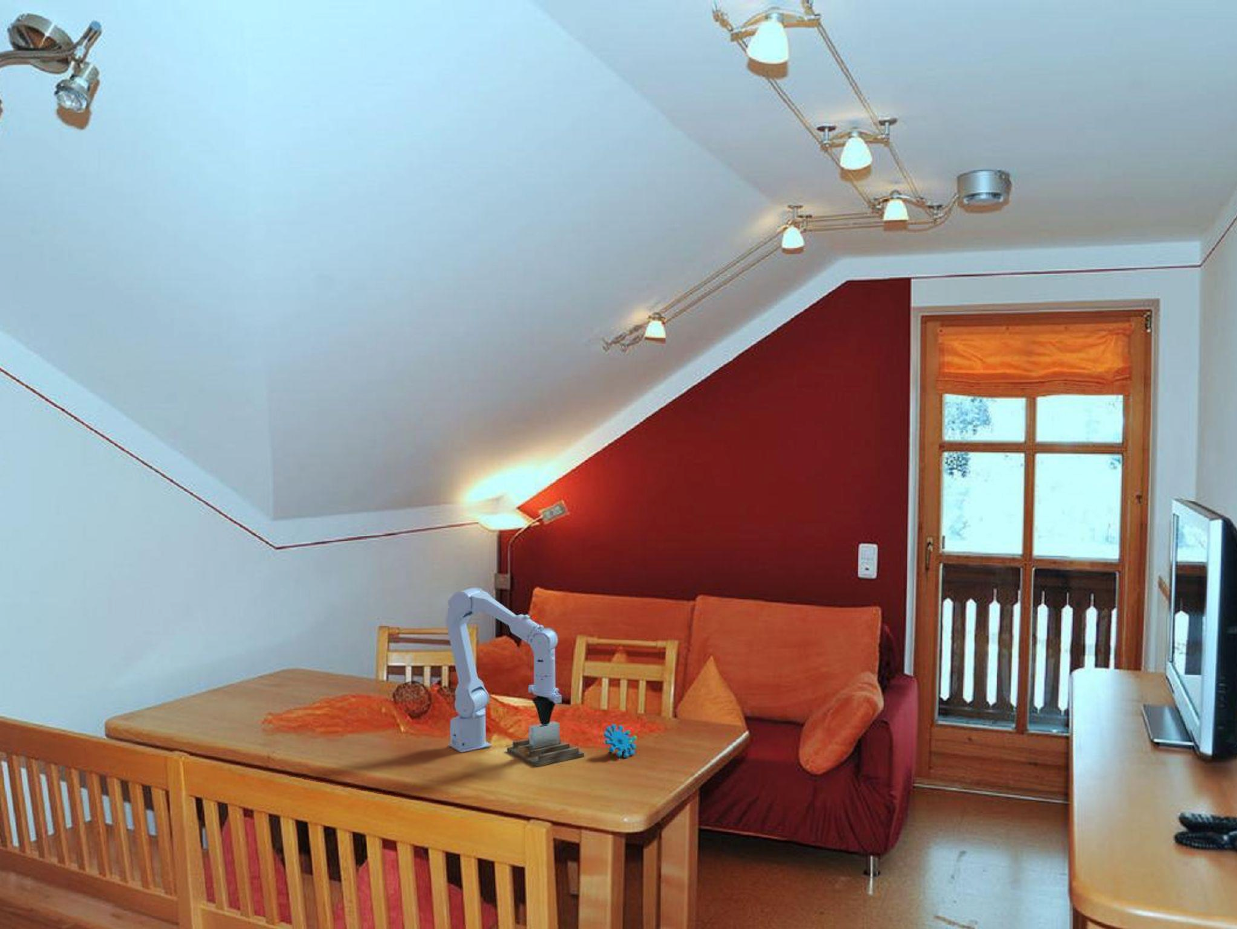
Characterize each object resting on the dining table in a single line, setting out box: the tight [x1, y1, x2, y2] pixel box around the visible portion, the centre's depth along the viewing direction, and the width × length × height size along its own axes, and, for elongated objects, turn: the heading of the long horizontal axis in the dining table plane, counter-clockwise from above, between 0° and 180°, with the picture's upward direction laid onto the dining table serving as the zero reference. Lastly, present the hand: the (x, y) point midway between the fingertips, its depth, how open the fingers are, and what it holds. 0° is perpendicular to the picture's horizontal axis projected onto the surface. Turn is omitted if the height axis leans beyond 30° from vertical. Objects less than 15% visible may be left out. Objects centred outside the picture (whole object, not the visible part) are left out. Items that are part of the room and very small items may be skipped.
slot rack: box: [506, 738, 585, 768], centre depth 283 cm, size 15×16×3 cm
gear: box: [603, 724, 638, 759], centre depth 283 cm, size 11×6×10 cm
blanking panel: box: [528, 721, 560, 751], centre depth 283 cm, size 8×2×7 cm, turn 124°
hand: (544, 723), depth 283 cm, fingers closed
